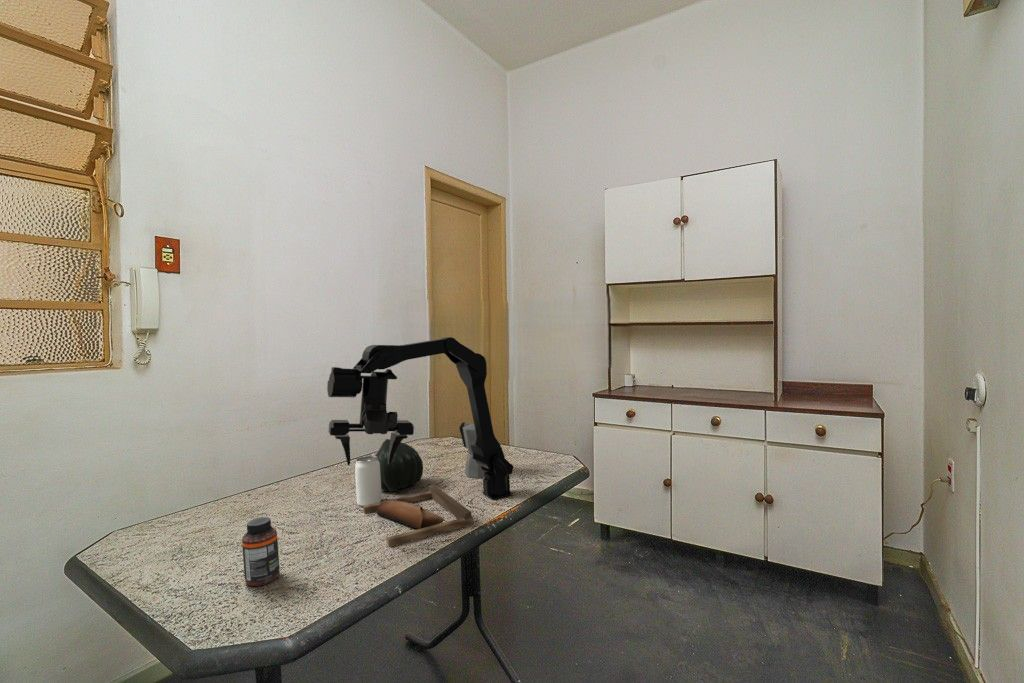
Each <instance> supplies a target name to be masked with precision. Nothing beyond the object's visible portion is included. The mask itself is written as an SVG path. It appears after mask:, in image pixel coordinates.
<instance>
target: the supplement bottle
mask: <svg viewBox="0 0 1024 683" xmlns="http://www.w3.org/2000/svg"><path fill="white" fill-rule="evenodd" d="M271 521H272V520H271V518H270V517H267V516H260V517H256V518H252V519H250V520H248V522H247V523H246V530H247V531H246V533H244V535H243V536H242V539H241V543H242V544H241V547H242V557H243V558H242V559H243V573H244V574H243V575H244V581H245V584H246V585H248V586H250V587H258V586H264V585H267V584H269V583H271V582H273V581H274V580H276V579H277V578H278V577H279V575H280V572H281V571H280V556H279V543H278V542H279V541H278V540H279V539H278V532H277V531H278V530H277V529H276V528H275V527H273V526H272V522H271Z"/></svg>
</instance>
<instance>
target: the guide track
mask: <svg viewBox="0 0 1024 683" xmlns="http://www.w3.org/2000/svg"><path fill="white" fill-rule="evenodd" d="M428 489H429V491H424V492H421V493H416V494H412V495H407V496H403V497H399V498H393V499H388V500H387V501H402V502H407V503H411V502H413V503H416V501H418V502H421V501H420V500H422V501H426V500H430V499H429V498H431V499H432V500H433V499H434V500H435V501H434V500H433V501H434V502H435V503H437V504H438V503H439V504H440V505H439V504H438V505H439V506H441V507H442V506H443V507H444V508H445V509H444V508H443V507H442V508H443V509H444V510H445V511H447V510H448V511H449V512H450V513H451V515H452V514H453V515H454V516H455V517H456V518H455V517H454V516H453V515H452V516H453V517H454V518H455V519H452V520H449V521H446V522H444V523H441V524H437V525H433V526H429V527H425V528H422V529H414V530H410V531H407V532H403V533H399V534H396V535H391V536H388V537H386V543H387V544H388V545H387V544H386V545H387V546H388V548H390V546H391V547H393V546H394V545H395V546H397V545H398V546H399V545H401V543H402V544H405V542H406V543H409V542H413V541H417V540H420V539H423V537H424V538H427V536H428V537H431V536H434V535H433V534H435V535H438V534H437V533H439V534H442V532H443V533H446V532H450V531H454V530H456V528H457V529H461V528H463V527H464V526H465V527H467V525H468V526H471V525H474V524H475V520H474V518H475V517H473V516H472V511H471V510H469V509H468V508H467V507H465V505H462V504H461V503H460V502H459V501H457V500H456V499H454V498H453V497H452V496H450V495H449V494H448V493H446V492H445V491H444V490H442V489H440V487H438V486H437V485H435V484H432V485H429V488H428ZM425 499H426V500H425ZM381 502H382V501H380V502H379V503H375V504H370V505H366V506H362V509H363V511H362V512H363V513H364V514H365V513H366V514H368V513H369V514H370V513H373V512H377V508H378V506H379V504H380V503H381ZM448 511H447V512H448ZM449 512H448V513H449ZM450 513H449V514H450ZM453 529H454V530H453ZM449 530H450V531H449ZM430 535H431V536H430ZM416 539H417V540H416ZM412 540H413V541H412Z"/></svg>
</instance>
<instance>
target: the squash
mask: <svg viewBox="0 0 1024 683" xmlns="http://www.w3.org/2000/svg"><path fill="white" fill-rule="evenodd" d="M389 445H390V438H389V439H388V438H386V439H385V440H384V441H383V442H382V444H381V445H380V447H379V449H378V450H377V452H376V454H375V455H374V456H377V457H378V461H379V463H380V475H381V491H385V492H386V491H387V492H388V490H389V491H390V492H397V491H398V490H400V489H402V488H407V487H412V486H414V485H416V484H417V483H418V482H419V481H420V480H421V479H422V476H423V473H424V464H423V460H422V458H421V456H420V455H419V452H418V451H417V450H416V449H415V448H414V447H413V446H411V445H409V444H406V443H404V442H402V441H401V442H400V444H399V445H398V447H397V449H396V452H395V454H394V456H393V459H392V461H391V464H388V452H389Z"/></svg>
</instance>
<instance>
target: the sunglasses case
mask: <svg viewBox="0 0 1024 683" xmlns="http://www.w3.org/2000/svg"><path fill="white" fill-rule="evenodd" d="M380 502H381V503H380V504H379V506H378V508H377V511H376V514H377V516H379V517H385V518H387V519H392V520H394V521H397V522H400V523H402V524H404V525H407V526H410V527H412V528H415V529H416V530H418V529H422V528H425V527H429V526H433V525H437V524H440V523H442V522H443V521H445V519H444V518H443V517H442V516H440V515H439V514H436V513H434V512H432V511H430V510H428V509H425V508H424V507H423V506H421V505H419V504H415V503H407V502H402V501H388V500H385V501H380Z"/></svg>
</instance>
